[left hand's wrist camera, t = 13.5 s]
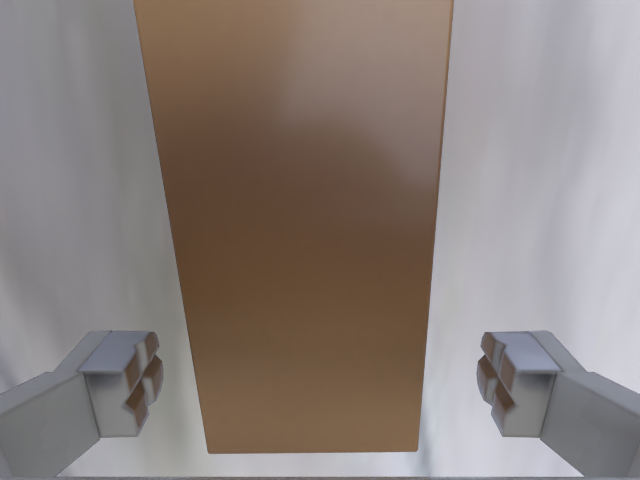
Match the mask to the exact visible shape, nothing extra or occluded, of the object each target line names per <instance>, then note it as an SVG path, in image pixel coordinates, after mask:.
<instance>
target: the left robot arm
mask: <svg viewBox="0 0 640 480" xmlns="http://www.w3.org/2000/svg"><path fill="white" fill-rule="evenodd" d="M158 348H159V342H158V337H157V335H156V334H155V333H154V332H149V331H92V332H89V333H88V334H87V335H86V336H85V337H84V338H83V339H82V341H81V342H80V343H79V344H78V345H77V346H76V347H75V348H74V349H73V350H72V351H71V353H70V354H69V355H68V356H67V357H66V358H65V359H64V360H63V361H62V362H61V363H60V365H59V366H58V367H57V368H56V369H55V370H54V371H53V372H45V373H43V374H41V375H39V376H37V377H35V378H33V379H31V380H29V381H27V382H25V383H22V384H20V385H18V386H16V387H14V388H12V389H10V390H8V391H6V392H4V393H2V394H0V480H640V394H638V393H636V392H634V391H632V390H630V389H628V388H626V387H624V386H622V385H620V384H617V383H615V382H613V381H611V380H609V379H607V378H605V377H603V376H601V375H599V374H597V373H595V372H587V371H586V370H585V369H584V368H583V367H582V366H581V365H580V363H579V362H578V361H577V360H576V359H575V358H574V357H573V356H572V355H571V354H570V353H569V351H568V350H567V349H566V348H565V347H564V346H563V345H562V344H561V343H560V342H559V341H558V339H557V338H556V337H555V336H554V335H553V334H552V333H551V332H549V331H546V330H543V331H521V332H485V333H484V335H483V337H482V342H481V348H482V350H483V351H484V353H485V355H484V356H483V357H482V358H481V359H480V360H479V361H478V366H477V383H478V387H479V391H480V393H481V395H482V397H483V400H484V401H486V402H487V403H489V404H490V405H491V406H492V411H491V415H492V417H493V419H494V421H495V423H496V425H497V427H498V429H499V431H500V433H501V435H502V437H533V438H540V440H541V441H543V442H544V443H545V444H546V445H547V446H549V447H550V448H551V449H552V450H553V451H555V452H556V453H557V454H558V455H559V456H561V457H562V458H563V459H564V460H566V461H567V462H568V463H569V464H570V465H572V466H573V467H574V468H575V469H576V470H578V471H579V472H580V473H581V474H582V475H584V476H585V477H55V476H56V475H58V474H59V473H60V472H61V471H63V470H64V469H65V468H66V467H67V466H69V465H70V464H71V463H72V462H73V461H75V460H76V459H77V458H78V457H79V456H81V455H82V454H83V453H84V452H86V451H87V450H88V449H89V448H90V447H92V446H93V445H94V444H95V443H96V442H98V441H99V440H100V438H107V437H138V435H139V433H140V431H141V429H142V427H143V425H144V423H145V421H146V419H147V417H148V415H149V411H148V406H149V405H150V404H151V403H153V402H154V401H156V400H157V397H158V395H159V393H160V391H161V387H162V382H163V365H162V361H161V360H160V359H159V358H158V357H157V356H156V355H155V353H156V351H157V350H158Z"/></svg>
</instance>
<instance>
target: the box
mask: <svg viewBox="0 0 640 480" xmlns="http://www.w3.org/2000/svg"><path fill="white" fill-rule="evenodd" d="M133 3H134V9H135V15H136V21H137V27H138V33H139V39H140V45H141V51H142V57H143V63H144V69H145V75H146V81H147V87H148V93H149V99H150V105H151V111H152V117H153V123H154V130H155V136H156V142H157V148H158V154H159V160H160V166H161V172H162V178H163V184H164V190H165V196H166V202H167V208H168V214H169V220H170V226H171V232H172V238H173V244H174V250H175V256H176V263H177V269H178V275H179V281H180V287H181V293H182V299H183V305H184V311H185V317H186V323H187V329H188V335H189V341H190V347H191V353H192V359H193V365H194V371H195V377H196V383H197V389H198V396H199V402H200V408H201V414H202V420H203V426H204V432H205V438H206V444H207V450H208V453H209V454H245V453H347V452H416V451H417V450H418V441H419V429H420V416H421V404H422V391H423V379H424V367H425V354H426V342H427V329H428V317H429V304H430V292H431V280H432V267H433V255H434V242H435V230H436V218H437V205H438V193H439V180H440V168H441V155H442V143H443V131H444V118H445V106H446V93H447V81H448V68H449V56H450V44H451V31H452V19H453V6H454V0H133Z"/></svg>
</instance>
